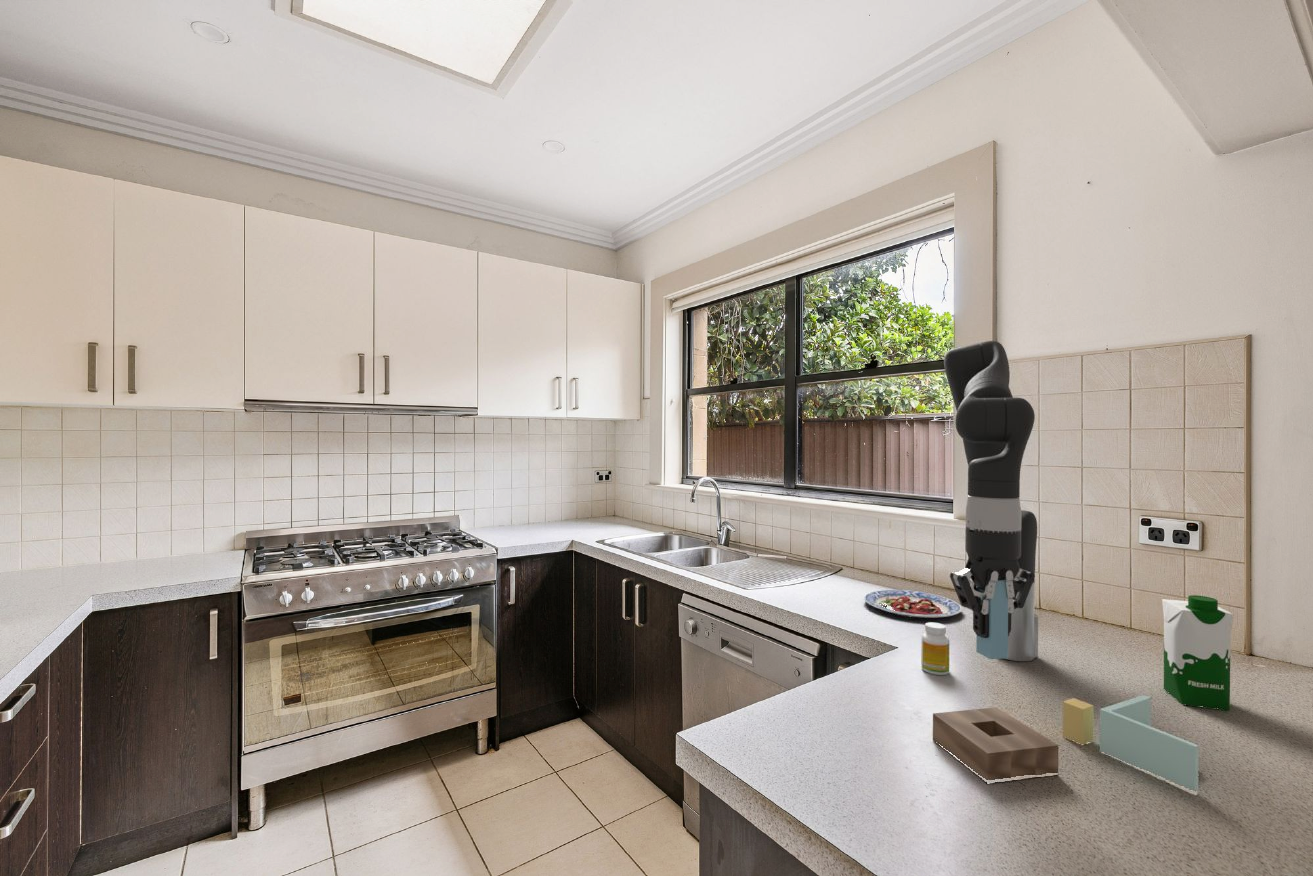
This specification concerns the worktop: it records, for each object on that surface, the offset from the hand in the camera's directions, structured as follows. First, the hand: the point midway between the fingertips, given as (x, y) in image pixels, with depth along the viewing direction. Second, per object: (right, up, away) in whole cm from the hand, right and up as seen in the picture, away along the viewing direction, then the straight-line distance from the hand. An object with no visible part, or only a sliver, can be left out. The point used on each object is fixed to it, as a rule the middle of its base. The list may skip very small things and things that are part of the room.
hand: (991, 635), depth 90 cm
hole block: (0, -19, 0) cm, 19 cm away
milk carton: (+50, -19, +20) cm, 57 cm away
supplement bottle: (+7, -19, +33) cm, 39 cm away
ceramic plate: (+21, -19, +76) cm, 82 cm away
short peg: (+17, -19, +5) cm, 26 cm away
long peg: (0, -3, 0) cm, 3 cm away
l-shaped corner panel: (+26, -20, -2) cm, 33 cm away
